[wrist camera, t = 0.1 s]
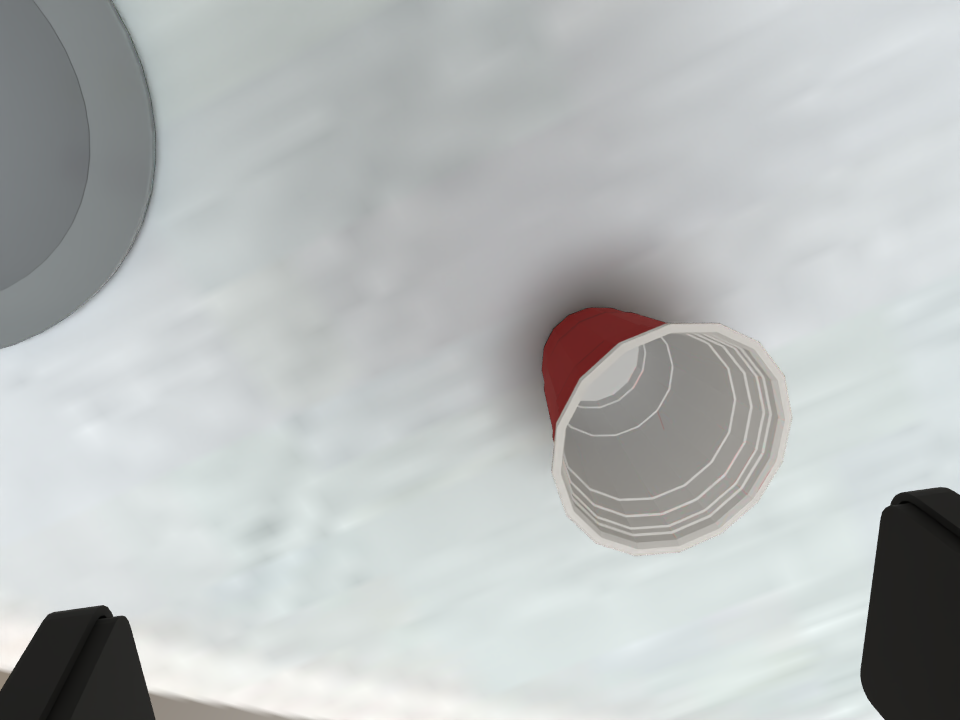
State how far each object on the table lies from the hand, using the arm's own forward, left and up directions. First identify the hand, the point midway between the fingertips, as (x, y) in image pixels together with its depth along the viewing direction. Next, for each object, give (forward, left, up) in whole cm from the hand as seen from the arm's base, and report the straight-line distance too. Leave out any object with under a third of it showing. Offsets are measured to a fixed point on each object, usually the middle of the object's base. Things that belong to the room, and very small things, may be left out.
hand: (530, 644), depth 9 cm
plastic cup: (+8, +10, -31) cm, 34 cm away
